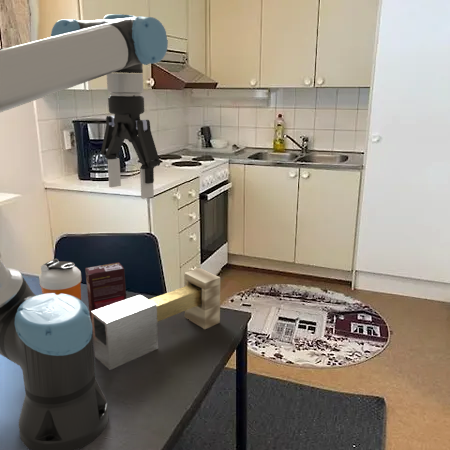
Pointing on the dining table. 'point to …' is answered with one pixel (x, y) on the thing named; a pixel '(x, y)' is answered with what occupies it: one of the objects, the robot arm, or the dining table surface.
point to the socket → (204, 298)
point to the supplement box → (105, 285)
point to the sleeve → (124, 331)
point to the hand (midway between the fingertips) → (130, 191)
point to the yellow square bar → (177, 301)
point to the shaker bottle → (60, 278)
